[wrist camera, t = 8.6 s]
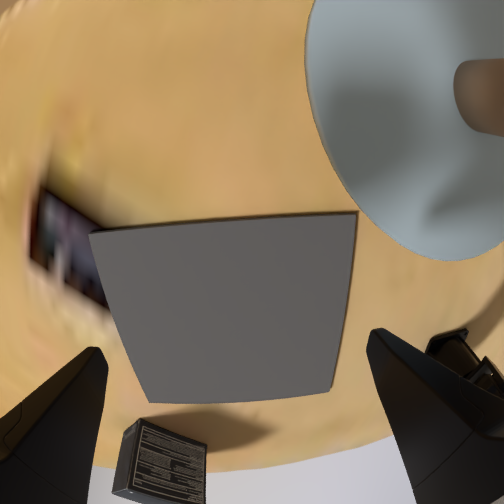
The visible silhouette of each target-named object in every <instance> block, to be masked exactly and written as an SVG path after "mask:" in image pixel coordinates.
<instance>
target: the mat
mask: <svg viewBox="0 0 504 504" xmlns="http://www.w3.org/2000/svg"><path fill="white" fill-rule="evenodd" d="M355 223H356V214H355V213H342V214H318V215H297V216H278V217H261V218H246V219H231V220H217V221H204V222H191V223H179V224H168V225H157V226H146V227H136V228H126V229H116V230H107V231H98V232H90V233H89V234H88V236H89V240H90V244H91V248H92V252H93V255H94V259H95V263H96V266H97V270H98V273H99V277H100V280H101V283H102V286H103V290H104V293H105V296H106V299H107V302H108V305H109V308H110V311H111V313H112V316H113V319H114V322H115V324H116V327H117V330H118V332H119V335H120V338H121V340H122V343H123V345H124V348H125V350H126V353H127V355H128V357H129V360H130V362H131V364H132V367H133V369H134V371H135V374H136V376H137V378H138V380H139V382H140V385H141V387H142V389H143V391H144V393H145V395H146V397H147V399H148V401H149V403H172V404H210V403H235V402H251V401H263V400H274V399H283V398H291V397H299V396H306V395H313V394H320V393H326V392H329V391H330V387H331V382H332V378H333V373H334V369H335V364H336V359H337V354H338V348H339V343H340V338H341V332H342V326H343V320H344V314H345V308H346V301H347V294H348V287H349V280H350V272H351V263H352V254H353V245H354V234H355Z"/></svg>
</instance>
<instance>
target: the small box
mask: <svg viewBox="0 0 504 504" xmlns="http://www.w3.org/2000/svg"><path fill="white" fill-rule="evenodd" d="M206 454H207V445H206V444H203V443H200V442H197V441H194V440H191V439H189V438H186V437H183V436H180V435H178V434H175V433H173V432H170V431H167V430H165V429H162V428H160V427H158V426H155V425H153V424H151V423H148V422H146V421H144V420H141V419H139V420H137V421H136V422H135V423H134V424H133V425H132V426H131V427H129V428H128V429H126V430H125V432H124V433H123V438H122V443H121V447H120V452H119V457H118V462H117V467H116V472H115V477H114V483H113V489H112V494H114V495H117V496H120V497H123V498H126V499H129V500H132V501H135V502H138V503H142V504H206V497H205V496H206Z"/></svg>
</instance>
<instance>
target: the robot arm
mask: <svg viewBox="0 0 504 504" xmlns="http://www.w3.org/2000/svg"><path fill="white" fill-rule="evenodd" d="M468 332H469V331H468V330H467V329H463V330H460V331H456V332H453V333H450V334H446V335H443V336H439V337H435V338H432V339H431V340H430V341H429V343H428V346H427V348H426V351H425V353H423V352H421V351H420V350H418V349H417V348H415V347H413V346H412V345H410V344H409V343H407V342H405V341H404V340H402V339H400V338H399V337H397V336H396V335H394V334H392V333H391V332H389V331H388V330H386V329H384V328H377V329H373V330H371V332H370V335H369V339H368V343H367V347H366V353H367V357H368V360H369V364H370V367H371V371H372V375H373V378H374V382H375V386H376V389H377V392H378V395H379V397H380V400H381V403H382V405H383V408H384V410H385V413H386V415H387V418H388V421H389V423H390V426H391V429H392V431H393V434H394V437H395V440H396V442H397V445H398V448H399V451H400V454H401V456H402V459H403V462H404V465H405V468H406V470H407V474H408V477H409V480H410V483H411V486H412V489H413V493H414V496H415V500H416V503H417V504H504V376H503V374H502V373H501V372H500V371H499V369H498V368H497V367H496V366H495V364H494V363H493V362H492V361H491V360H490V359H489V358H488V357H487V356H485V357H484V358H483V360H482V361H480V359H479V358H478V357H477V356H476V354H475V353H474V352H473V351H472V349H471V348H470V347H469V346H468V344H467V343H466V342H465V339H466V337H467V335H468ZM492 373H493V375H492V376H491V374H492ZM107 377H108V364H107V361H106V359H105V357H104V355H103V353H102V351H101V349H100V348H99V347H87V348H86V349H85V350H83V351H82V352H81V353H80V354H79V355H77V356H76V357H75V358H74V359H72V360H71V361H70V362H69V363H67V364H66V365H65V366H64V367H62V368H61V369H60V370H59V371H58V372H56V373H55V374H54V375H53V376H51V377H50V378H49V379H48V380H47V381H45V382H44V383H43V384H42V385H41V386H39V387H38V388H37V389H36V390H34V391H33V392H32V393H31V394H30V395H28V396H27V397H26V398H25V399H24V400H23V401H22V402H20V403H19V404H18V405H17V406H15V407H14V408H13V409H12V410H11V411H9V412H8V413H7V414H6V415H4V416H3V417H2V418H0V504H87V498H88V491H89V483H90V476H91V470H92V464H93V458H94V452H95V447H96V441H97V436H98V431H99V426H100V422H101V417H102V413H103V408H104V401H105V392H106V385H107Z"/></svg>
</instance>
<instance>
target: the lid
mask: <svg viewBox="0 0 504 504" xmlns="http://www.w3.org/2000/svg"><path fill="white" fill-rule="evenodd" d="M304 66H305V75H306V84H307V92H308V97H309V101H310V105H311V110H312V114H313V119H314V121H315V124H316V127H317V130H318V133H319V136H320V139H321V142H322V145H323V147H324V149H325V151H326V153H327V156H328V158H329V160H330V162H331V164H332V166H333V169H334V170H335V172H336V174H337V175H338V177H339V179H340V180H341V182H342V184H343V186H344V187H345V189H346V191H347V192H348V193H349V195H350V196H351V197H352V199H353V200H354V201H355V203H356V204H357V205H358V207H359V208H360V209H361V210H362V211H363V212H364V213H365V214H366V215H367V216H368V217H369V219H370V220H371V221H372V222H373V223H374V224H375V225H376V226H378V227H379V228H380V229H381V230H382V231H384V232H385V233H386V234H387V235H389V236H390V237H391V238H392V239H394V240H395V241H396V242H397V243H399V244H400V245H402V246H403V247H405V248H407V249H409V250H411V251H412V252H414V253H416V254H419V255H422V256H424V257H427V258H430V259H436V260H442V261H460V260H465V259H470V258H473V257H476V256H479V255H481V254H484V253H486V252H487V251H489V250H491V249H493V248H494V247H496V246H497V245H499V244H500V243H501V242H502V241H504V0H314V3H313V6H312V8H311V11H310V14H309V17H308V23H307V29H306V35H305V55H304Z"/></svg>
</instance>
